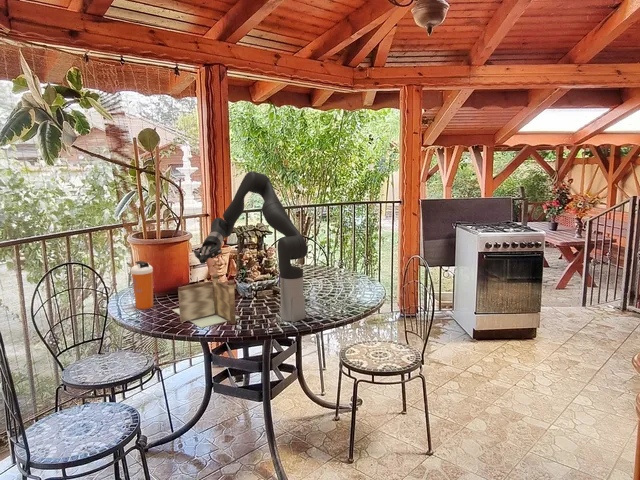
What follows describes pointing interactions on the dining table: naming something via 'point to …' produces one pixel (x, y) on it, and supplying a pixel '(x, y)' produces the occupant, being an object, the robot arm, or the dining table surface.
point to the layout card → (206, 319)
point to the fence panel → (196, 301)
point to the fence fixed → (224, 299)
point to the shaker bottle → (143, 284)
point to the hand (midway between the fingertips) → (202, 261)
